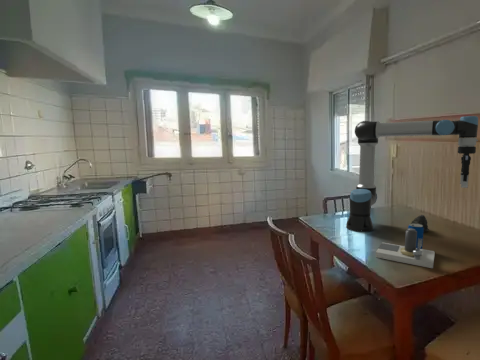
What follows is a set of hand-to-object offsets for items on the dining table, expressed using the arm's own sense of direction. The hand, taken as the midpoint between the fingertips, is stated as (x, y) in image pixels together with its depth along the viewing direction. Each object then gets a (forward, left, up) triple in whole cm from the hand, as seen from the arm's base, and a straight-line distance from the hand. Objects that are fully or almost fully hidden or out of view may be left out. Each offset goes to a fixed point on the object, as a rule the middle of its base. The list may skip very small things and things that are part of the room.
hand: (463, 185), depth 156 cm
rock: (-20, 0, -28) cm, 35 cm away
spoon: (-16, -48, -24) cm, 56 cm away
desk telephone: (-21, -48, -28) cm, 59 cm away
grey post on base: (-19, -49, -28) cm, 60 cm away
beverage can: (-19, -34, -28) cm, 48 cm away
